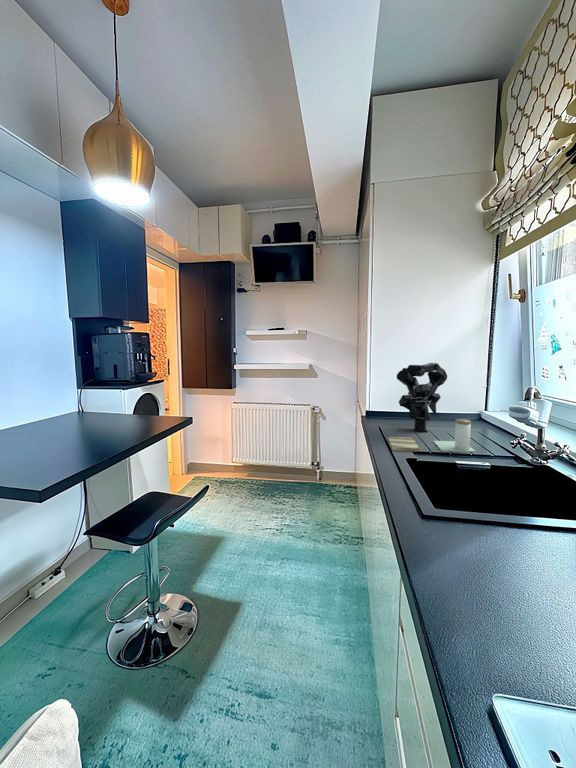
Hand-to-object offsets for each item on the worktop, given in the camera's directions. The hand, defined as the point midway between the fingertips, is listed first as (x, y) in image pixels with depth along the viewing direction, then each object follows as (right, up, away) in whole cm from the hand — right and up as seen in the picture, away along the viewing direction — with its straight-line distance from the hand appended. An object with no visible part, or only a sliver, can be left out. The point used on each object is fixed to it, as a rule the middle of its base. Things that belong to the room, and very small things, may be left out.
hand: (426, 414), depth 148 cm
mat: (+8, -13, -8) cm, 18 cm away
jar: (+10, -13, -12) cm, 20 cm away
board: (-12, -14, -4) cm, 19 cm away
